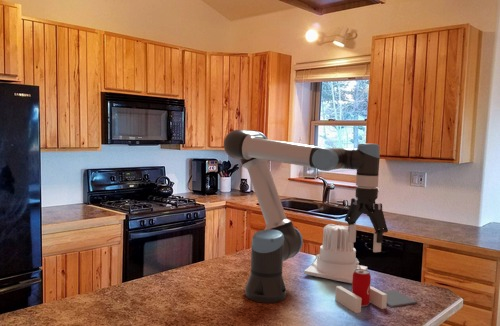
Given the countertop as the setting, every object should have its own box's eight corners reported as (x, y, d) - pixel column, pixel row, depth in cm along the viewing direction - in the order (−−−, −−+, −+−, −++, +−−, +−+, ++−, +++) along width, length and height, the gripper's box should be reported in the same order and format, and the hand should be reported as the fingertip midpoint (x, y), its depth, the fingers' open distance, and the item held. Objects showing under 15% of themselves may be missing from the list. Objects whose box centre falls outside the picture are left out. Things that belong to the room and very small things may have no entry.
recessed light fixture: (300, 276, 175) (302, 226, 174) (316, 263, 194) (319, 218, 193) (359, 287, 164) (362, 235, 162) (370, 273, 183) (373, 225, 182)
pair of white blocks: (356, 313, 139) (356, 298, 139) (335, 299, 150) (335, 286, 150) (386, 308, 144) (386, 294, 144) (363, 295, 155) (364, 282, 155)
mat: (391, 307, 145) (391, 305, 145) (369, 294, 156) (369, 293, 156) (417, 303, 150) (417, 301, 150) (393, 291, 161) (393, 289, 161)
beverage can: (372, 304, 147) (374, 271, 147) (364, 309, 143) (365, 275, 142) (356, 299, 152) (358, 267, 151) (348, 303, 147) (349, 270, 146)
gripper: (401, 191, 135) (397, 255, 136) (353, 183, 158) (350, 237, 159) (383, 192, 132) (379, 257, 133) (337, 183, 155) (334, 239, 156)
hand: (363, 246), depth 146 cm, fingers open, 13 cm apart
